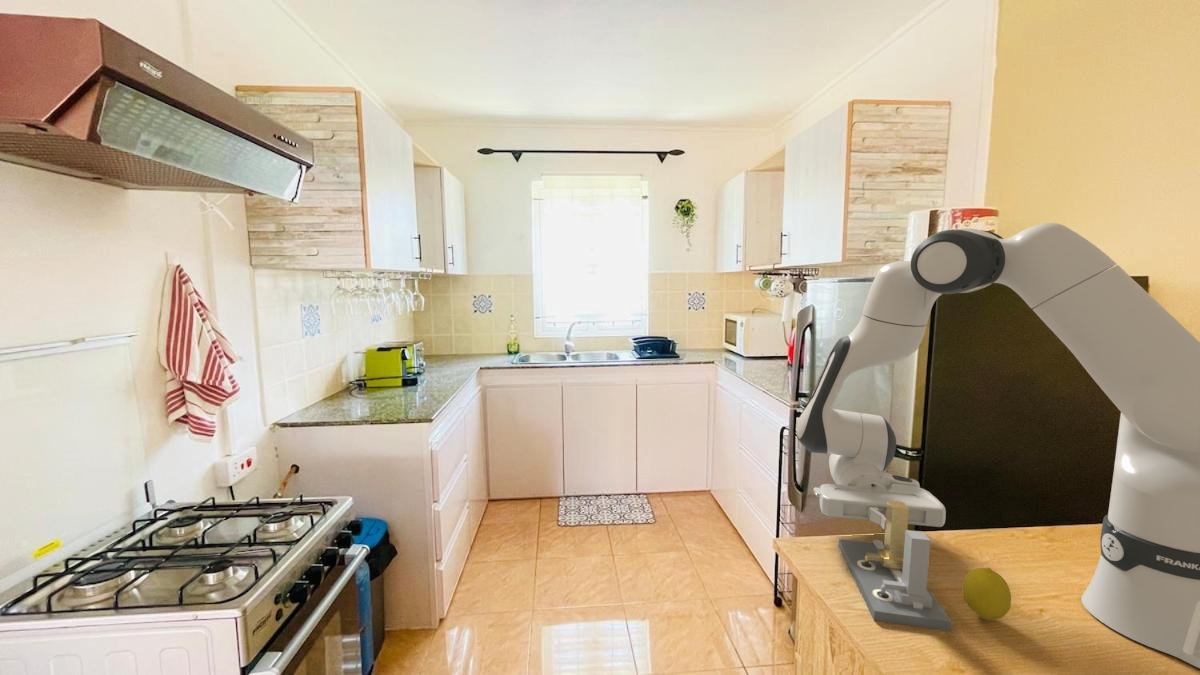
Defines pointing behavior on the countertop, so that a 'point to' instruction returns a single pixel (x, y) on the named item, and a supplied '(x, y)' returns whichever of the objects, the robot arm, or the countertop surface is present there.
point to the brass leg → (892, 537)
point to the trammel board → (896, 583)
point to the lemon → (986, 593)
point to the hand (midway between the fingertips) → (893, 526)
